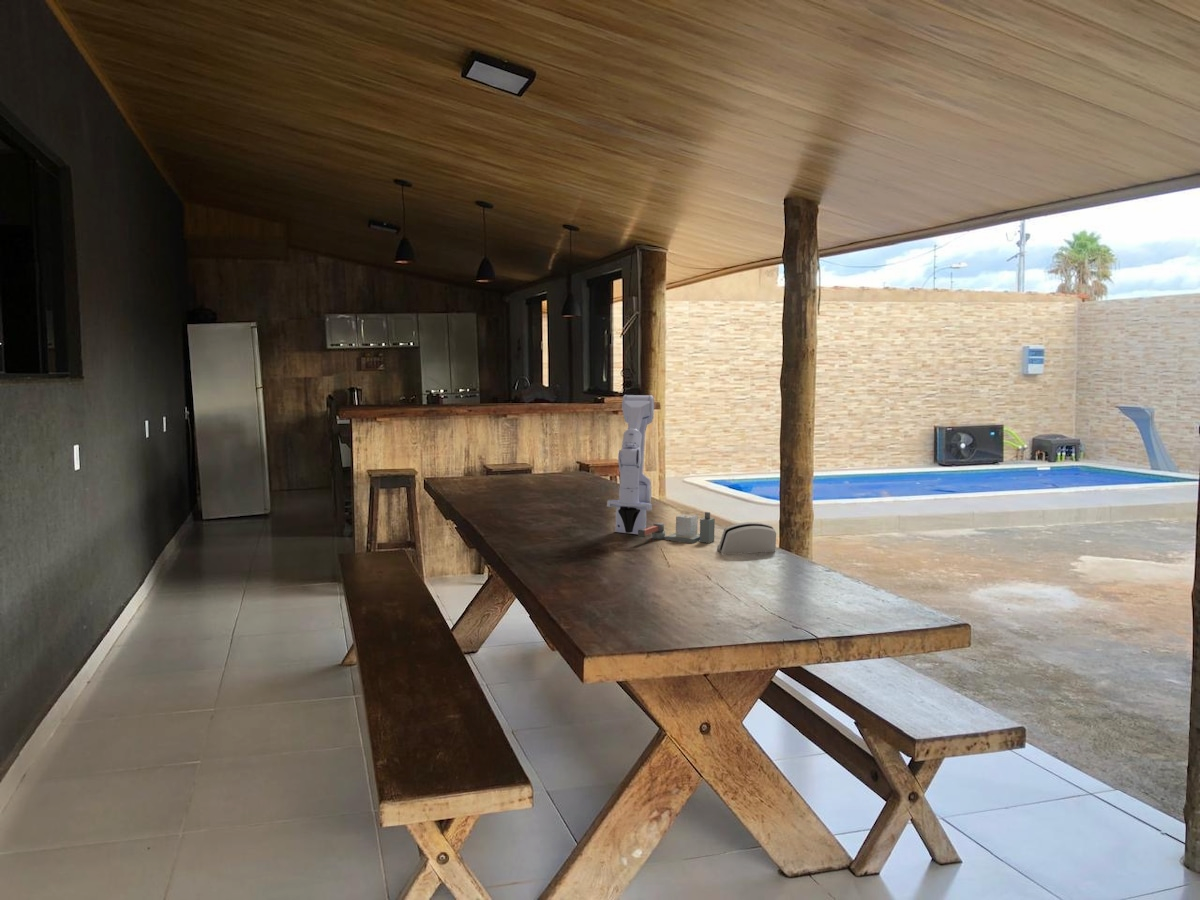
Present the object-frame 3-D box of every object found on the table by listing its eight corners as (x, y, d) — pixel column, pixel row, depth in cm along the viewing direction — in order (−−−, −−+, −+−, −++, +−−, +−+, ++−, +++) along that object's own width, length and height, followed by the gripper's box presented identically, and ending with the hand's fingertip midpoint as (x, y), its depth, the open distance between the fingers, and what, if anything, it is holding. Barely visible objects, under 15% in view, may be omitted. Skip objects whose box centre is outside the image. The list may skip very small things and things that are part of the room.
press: (649, 538, 288) (650, 509, 288) (663, 533, 297) (663, 505, 296) (704, 545, 279) (705, 515, 278) (717, 539, 287) (718, 510, 286)
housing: (675, 535, 287) (675, 516, 286) (682, 533, 291) (682, 514, 290) (690, 537, 284) (690, 517, 283) (697, 534, 288) (697, 515, 288)
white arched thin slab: (768, 548, 275) (774, 518, 271) (775, 556, 271) (781, 526, 267) (715, 550, 271) (720, 520, 267) (721, 559, 267) (726, 529, 263)
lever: (635, 536, 279) (635, 529, 279) (656, 529, 291) (656, 522, 291) (644, 537, 278) (644, 530, 277) (665, 530, 289) (665, 523, 289)
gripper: (602, 487, 283) (601, 531, 285) (644, 491, 276) (644, 536, 277) (613, 484, 289) (613, 528, 291) (655, 488, 282) (654, 532, 283)
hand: (629, 532), depth 284 cm, fingers closed
